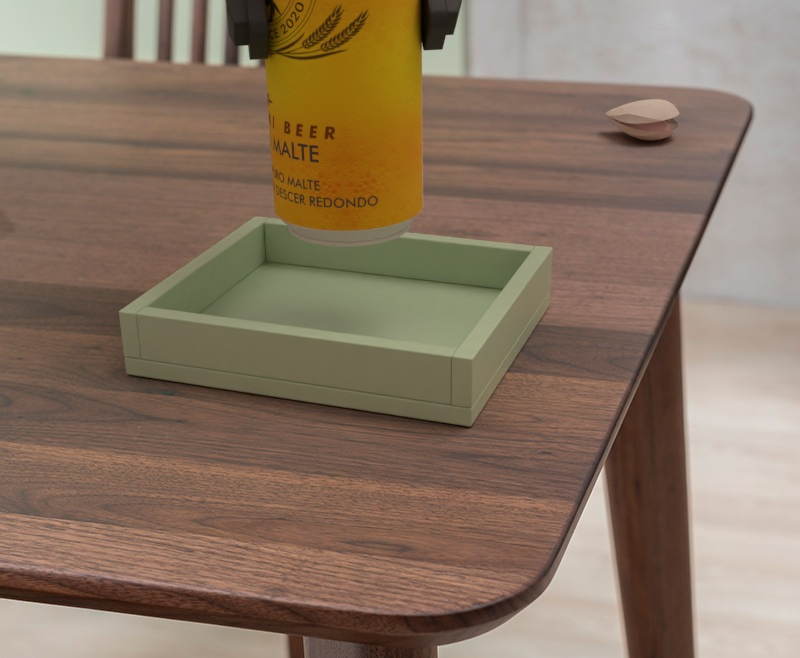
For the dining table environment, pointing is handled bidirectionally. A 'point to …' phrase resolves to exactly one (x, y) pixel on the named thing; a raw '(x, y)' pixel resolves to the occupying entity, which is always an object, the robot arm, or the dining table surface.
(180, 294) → the serving tray
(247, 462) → the dining table surface
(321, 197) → the beer can
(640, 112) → the pistachio shell
